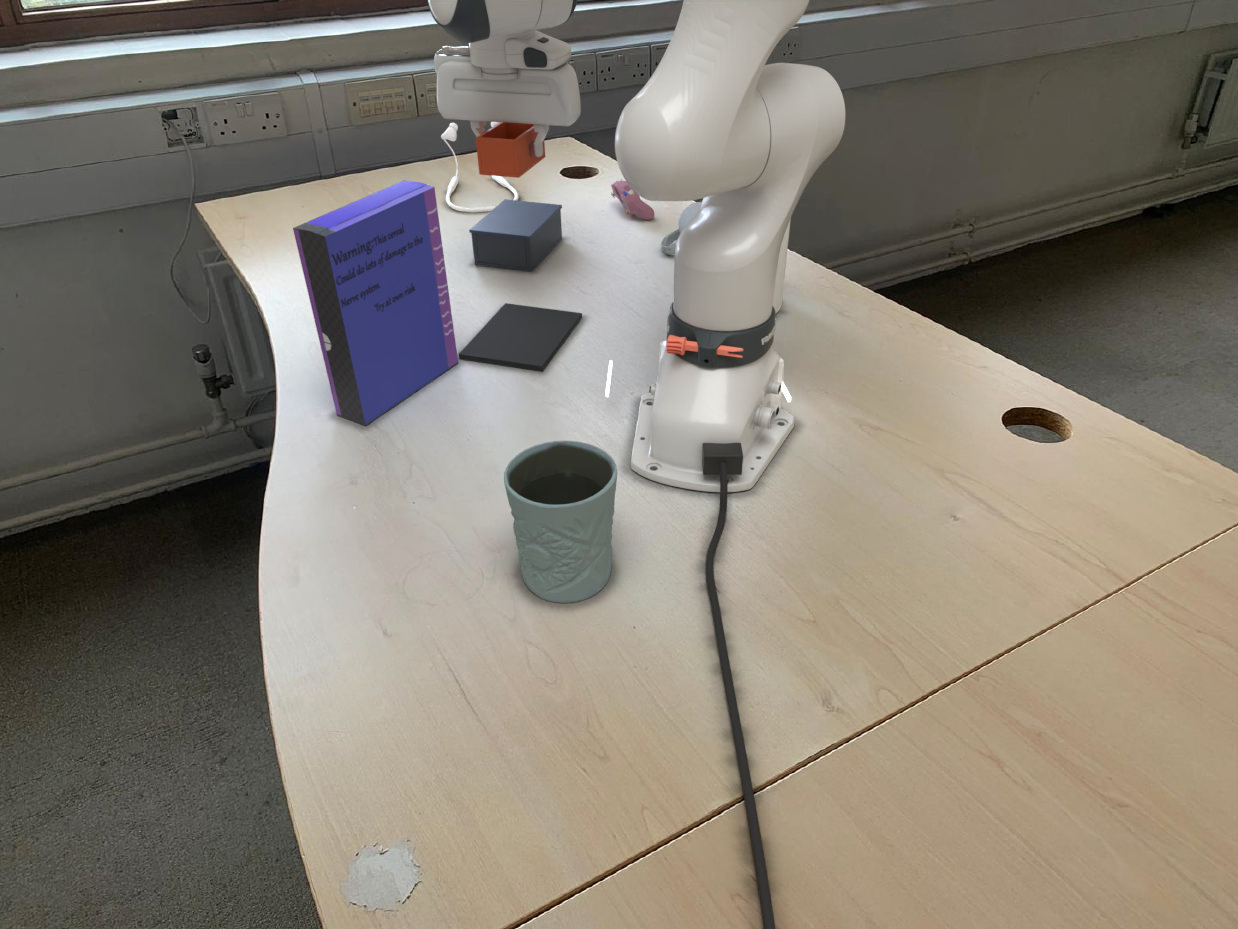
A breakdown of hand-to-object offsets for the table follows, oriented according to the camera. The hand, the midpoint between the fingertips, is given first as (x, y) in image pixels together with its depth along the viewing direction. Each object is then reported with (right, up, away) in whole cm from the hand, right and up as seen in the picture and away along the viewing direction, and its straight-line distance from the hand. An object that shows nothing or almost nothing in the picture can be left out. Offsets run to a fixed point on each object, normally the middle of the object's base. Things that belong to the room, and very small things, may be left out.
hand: (512, 153), depth 127 cm
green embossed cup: (+10, -54, -40) cm, 68 cm away
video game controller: (+17, +2, +37) cm, 41 cm away
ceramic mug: (+28, -9, +22) cm, 36 cm away
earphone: (-12, +8, +46) cm, 48 cm away
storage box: (-2, -8, +23) cm, 24 cm away
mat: (+2, -26, -2) cm, 26 cm away
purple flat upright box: (-13, -34, -12) cm, 39 cm away
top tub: (0, -1, +1) cm, 2 cm away
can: (+33, -21, +6) cm, 39 cm away
